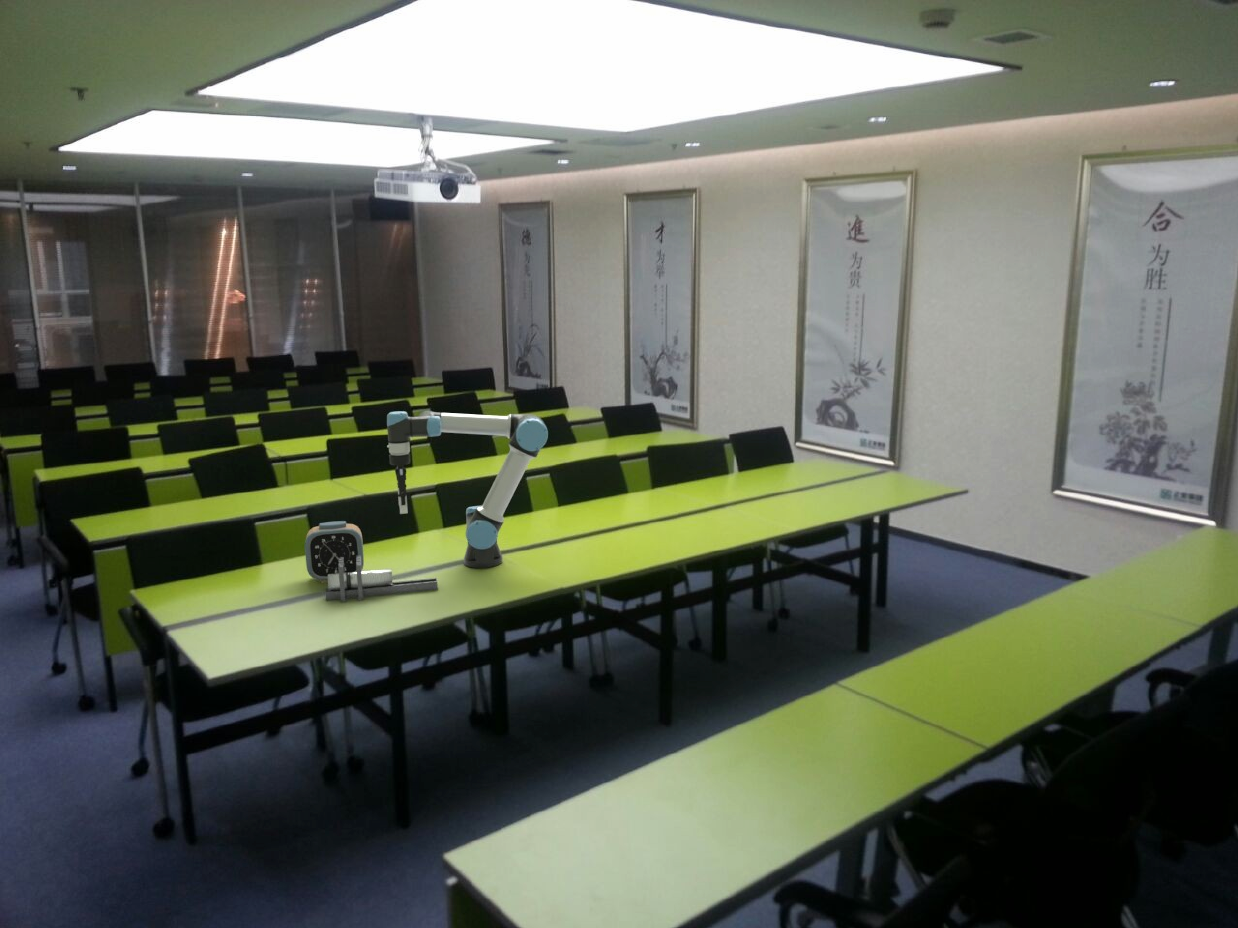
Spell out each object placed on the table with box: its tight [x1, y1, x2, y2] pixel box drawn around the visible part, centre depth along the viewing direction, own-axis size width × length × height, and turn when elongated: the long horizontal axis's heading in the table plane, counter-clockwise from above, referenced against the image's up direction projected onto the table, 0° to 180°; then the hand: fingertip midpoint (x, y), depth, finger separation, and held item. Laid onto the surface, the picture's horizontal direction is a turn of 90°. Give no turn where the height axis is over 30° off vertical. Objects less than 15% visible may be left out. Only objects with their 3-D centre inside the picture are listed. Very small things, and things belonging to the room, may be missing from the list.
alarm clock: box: [304, 520, 365, 584], centre depth 353 cm, size 21×10×22 cm, turn 105°
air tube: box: [327, 568, 393, 591], centre depth 335 cm, size 22×6×6 cm, turn 105°
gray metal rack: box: [324, 555, 439, 604], centre depth 336 cm, size 39×12×13 cm, turn 105°
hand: (403, 509), depth 350 cm, fingers open, 13 cm apart
